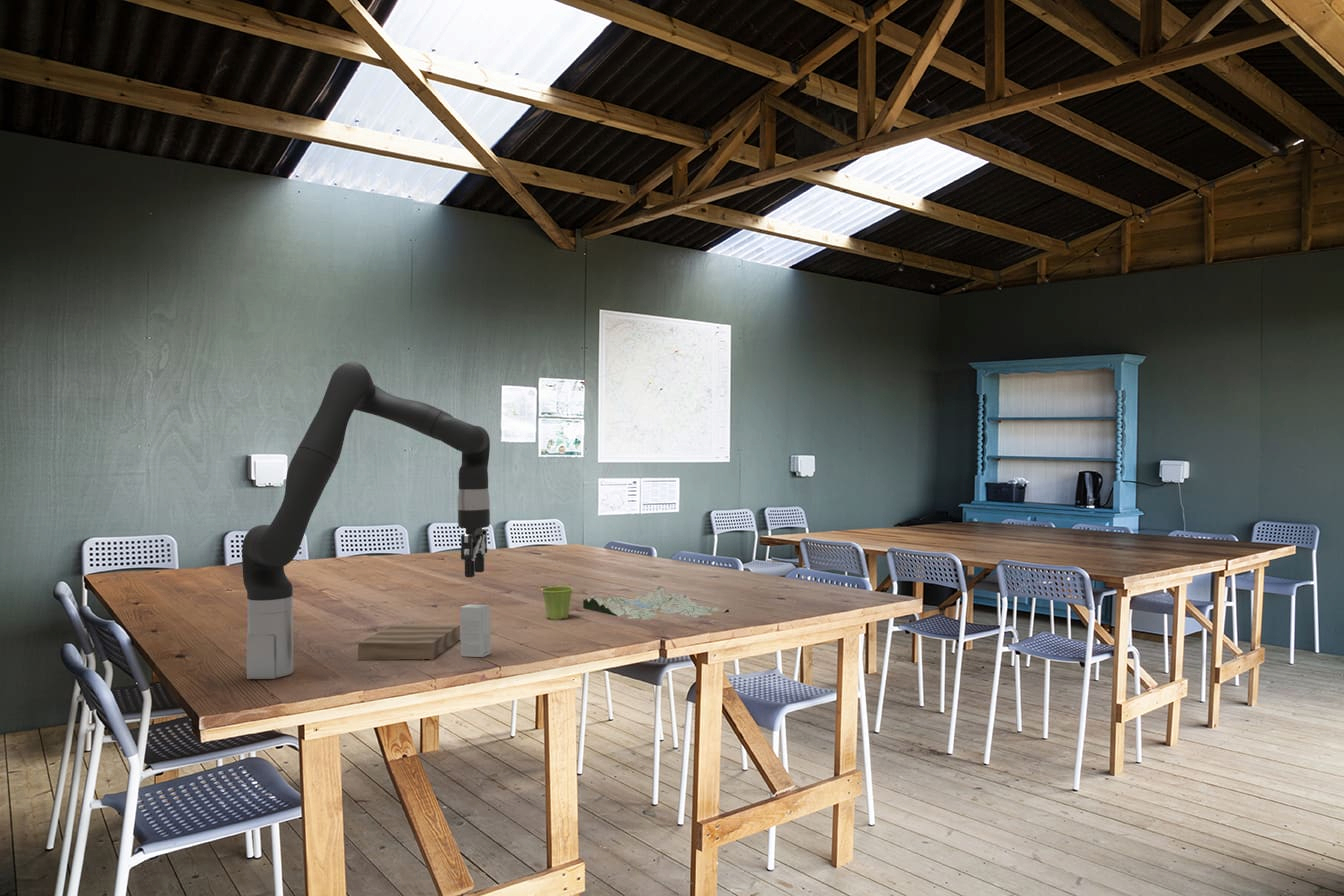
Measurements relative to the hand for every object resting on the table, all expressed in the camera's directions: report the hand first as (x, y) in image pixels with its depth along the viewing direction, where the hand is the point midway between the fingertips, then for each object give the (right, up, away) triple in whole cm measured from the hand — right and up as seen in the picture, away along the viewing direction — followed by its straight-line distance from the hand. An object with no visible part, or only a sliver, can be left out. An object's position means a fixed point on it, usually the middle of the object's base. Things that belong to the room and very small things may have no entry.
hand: (474, 574), depth 213 cm
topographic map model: (+43, -20, +58) cm, 75 cm away
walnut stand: (-17, -20, +7) cm, 27 cm away
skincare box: (0, -20, 0) cm, 20 cm away
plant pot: (+14, -20, +47) cm, 53 cm away
